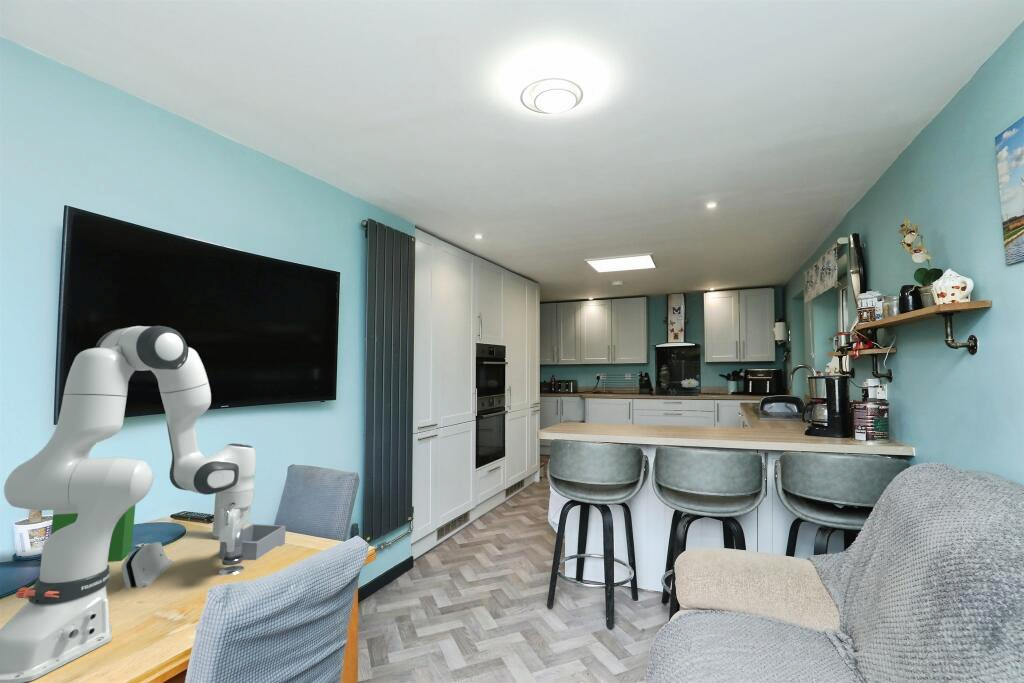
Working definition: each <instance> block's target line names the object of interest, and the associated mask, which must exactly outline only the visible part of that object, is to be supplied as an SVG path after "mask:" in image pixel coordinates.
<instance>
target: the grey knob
mask: <svg viewBox="0 0 1024 683" xmlns="http://www.w3.org/2000/svg"><path fill="white" fill-rule="evenodd" d="M243 529H244V528H242V529H241V531H240V532H239V533H238V535H237V536H236V537H235V549H234V551H233V552H227V544H226V542H225V551H224V558H221V559H222V560H221V561H222V562H221V565H223V566H226V567H229V566H237V565H239V564H241V563H242V562H243V560H244V559H243V556H242V555H241V554H242V540H243Z"/></svg>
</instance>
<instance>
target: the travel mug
mask: <svg viewBox="0 0 1024 683" xmlns="http://www.w3.org/2000/svg"><path fill="white" fill-rule="evenodd" d="M214 494H215V496H214V497H215V498H214V510H213V511H214V512H213V524H212V539H213V540H217V541H219V531H220V523H221V517H222V514H223V513H224V509H223V508H220V507H219V499H220V492H218V493H214Z"/></svg>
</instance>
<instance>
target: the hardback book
mask: <svg viewBox="0 0 1024 683" xmlns="http://www.w3.org/2000/svg"><path fill="white" fill-rule="evenodd" d="M135 515H136V504H135V505H133V506H132V507H131V508H129V509H128V510H127V511H126V512H125V513H124V514H123V515H122V516H121V518H120V519H119V521H118V522H117V524H116V526H115V528H114V530H113V533H112V536H111V541H110V547H109V555H108V563H111V562H112V563H114V562H122V561H123V560H125V559H126V558H127V557H128V556H127V554H128V553H129V552H130V551H131V550H132V549H133V539H134V538H133V536H134V526H135ZM77 517H78V509H64V510H52V522H51V532H50V535H52V534H53V533H54V532H56V531H57V530H59V529H61V528H63V527H65V526H67V525H70V524H72V523H74V522H76V520H77ZM132 551H133V550H132ZM132 551H131V552H132Z"/></svg>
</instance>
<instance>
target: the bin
mask: <svg viewBox="0 0 1024 683" xmlns="http://www.w3.org/2000/svg"><path fill="white" fill-rule="evenodd" d="M242 529H243V540H242V554H241V555H242V556H243V560H252V561H257V560H258V559H259V558H261V557H263V556H265V554H268V553H269V552H270V551H272V550H273V549H275V548H277V547H282V546H283V545H285V542H286V525H279V524H278V525H275V524H257V523H252V524H250V525H248V526H247V527H243V528H242ZM224 551H225V542H220V541H219V555H218V556H219V558H220V559H223V558H224Z"/></svg>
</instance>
